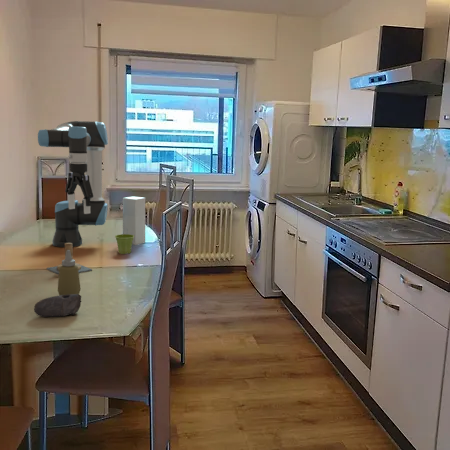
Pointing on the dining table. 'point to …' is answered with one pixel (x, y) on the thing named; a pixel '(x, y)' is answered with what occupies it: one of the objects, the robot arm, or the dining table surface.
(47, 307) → the perforated stone tool
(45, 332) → the dining table surface
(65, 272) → the squeeze bottle
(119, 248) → the plant pot
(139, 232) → the tall white carton
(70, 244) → the beige disc-based post
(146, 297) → the dining table surface
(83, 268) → the mat
